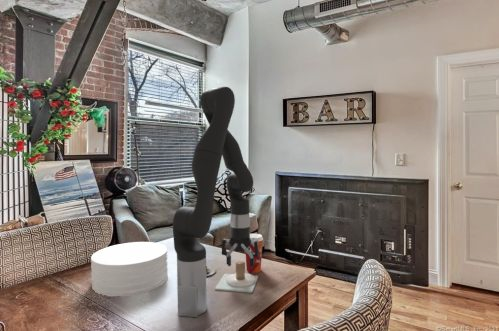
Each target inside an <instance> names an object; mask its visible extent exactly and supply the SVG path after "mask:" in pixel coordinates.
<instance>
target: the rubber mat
mask: <svg viewBox="0 0 499 331" xmlns="http://www.w3.org/2000/svg"><path fill="white" fill-rule="evenodd" d="M231 274H232V273H224V274H223V276H222V277H221V278H220V279H219V281H218V282H217V284H216V286H215V287H214V291H225V292H237V293H249V294H250V293H251V294H252V293H253V292H254V289H255V287H256V284H257V282H258V278H259V275H253V276H254V278H255V282H254V283H253V284H252V285H250V286H246V287H234V286H230V285H228V284H227V282H226V278H227V277H228V276H229V275H231Z"/></svg>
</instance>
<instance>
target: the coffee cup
mask: <svg viewBox="0 0 499 331" xmlns="http://www.w3.org/2000/svg"><path fill="white" fill-rule="evenodd" d="M250 240H251V241H255V240H258V244H259V255H258V257H255V258H254V266H252V268H250V256H249V255H248V254H247V253H246V252H245V251H244V252H245V268H246V272H247V271H248V272H247V273H249V272H250V273H249V274H258V273H261V270H262V260H263V259H262V255H263V240H264V237H263V235H262V234H260V233H250ZM249 247H250V248H251V250H252V252H253V253H255V248H254V247H253V245H252V244H250V246H249Z"/></svg>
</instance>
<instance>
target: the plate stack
mask: <svg viewBox="0 0 499 331" xmlns="http://www.w3.org/2000/svg"><path fill="white" fill-rule="evenodd" d="M90 262H91V268H90V269H91V288H92V291H93V290H94V291H95V293H96V292H97V293H98V295H100V294H102V295H101V296H104V295H107V296H106V297H113V296H120V297H128V296H129V297H130V296H135V295H140V294H143V293H147V292H149V291H153V290H155V289H157V288H158V287H161V286H163V284H165V282H167V280H168V272H169V270H168V269H169V268H168V248H167V246H166V245H164V244H161V243H159V242H153V241H132V242H131V241H130V242H125V243H124V242H123V243H120V244H119V243H117V244H114V245H110V246H107V247H104V248H102V249H99V250H97V251H95V252H94V253H93V254H92V255H91V257H90ZM94 291H93V292H94ZM97 293H96V294H97Z"/></svg>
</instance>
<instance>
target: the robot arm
mask: <svg viewBox="0 0 499 331" xmlns="http://www.w3.org/2000/svg"><path fill="white" fill-rule="evenodd" d="M235 97H236V96H235V93H234V92H233V89H232V88H230V87H229V86H219V87H214V88H209V89H205V90H204V91H203V92H201V95H200V97H199V98H200V100H199V101H200V107H201V110H202V112H203V114H204V116H205V118H206V120H207V124H208V125H209V126H208V127H207V129H206V130H205V131H204V133H203V135H202V136H201V137H200V138H199V140H198V142H197V143H196V145H195V148H194V153H193V155H192V156H193V157H192V161H191V171H192V175H193V178H194V182H195V185H196V192H197V193H196V202H195V207H194V206H193V207H192V206H191V207H190V206H180V207H179V208H178V209H176V211H175V213H174V215H173V219H172V233H173V234H172V235H173V237H172V238H173V246H174V247H173V248H174V251H175V253H176V276H177V278H176V279H177V280H176V281H177V282H176V283H177V286H176V288H177V289H176V290H177V291H176V292H177V316H180V317H191V318H193V317H194V318H197V317H198V316H200V315H202V314H204V313H205V312H206V311H207V308H208V303H207V302H208V299H207V297H208V295H207V287H208V286H207V276H206V275H207V273H206V266H207V249H206V247H205V246H204V245H203V244H202V243H201V242H199V241H198V239H203V238H205V237H206V236H207V235H208V234H209V231H210V228H211V225H212V221H213V213H214V200H215V192H216V186H217V182H218V175H219V171H220V167H221V162H222V159H223V161H224V165H225V168H226V169H227V170H229V171H231V173H230V174H229V175H228V177H227V179H226V189H227V194H228V197H229V200H230V221H229V222H230V228H229V229H230V232H229V233H230V239H227V238H223V239H222V241H221V255H222V256H225V257H226V265H227V267H231V266H232V253H233V252H234V251H235V252H238V253H239V252H242V253H244V252H246V253H247V254H248V255H249V256H250V268H252V266H254V258H255V257H258V255H259V244H258V240H255V241H251V240H250V234H251V218H250V199H248V198H247V197H246V196H243V193H248V192H250V191H251V190H252V189H253V187H254V177H253V175H252V172H251V171H250V170H249V167H248V166H247V164H246V163H245V160H244V158H243V154H242V150H241V147H240V144H239V142H238V140H237V139H236V138H235V137H234V136H233V135H232V133H231V132H230V131H229V130H228V129H229V125H230V123H231V118H232V116H233V114H234V113H233V112H234V109H235V102H236V98H235ZM250 244H252V245H253V247H254V248H255V253H253V252H252V250H251V248H250V247H249V246H250ZM228 245H230V246H231V248H230V249H229V250H228V251H227V247H228ZM246 253H245V254H246Z"/></svg>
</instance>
